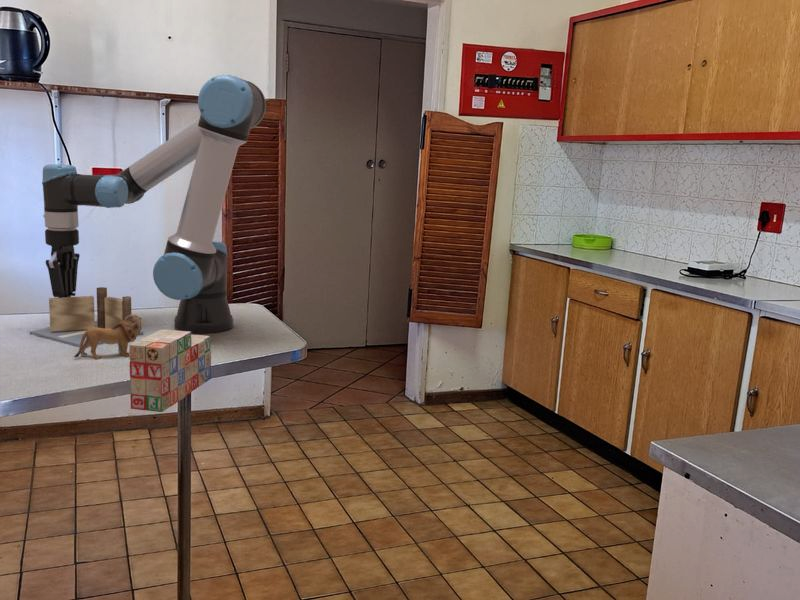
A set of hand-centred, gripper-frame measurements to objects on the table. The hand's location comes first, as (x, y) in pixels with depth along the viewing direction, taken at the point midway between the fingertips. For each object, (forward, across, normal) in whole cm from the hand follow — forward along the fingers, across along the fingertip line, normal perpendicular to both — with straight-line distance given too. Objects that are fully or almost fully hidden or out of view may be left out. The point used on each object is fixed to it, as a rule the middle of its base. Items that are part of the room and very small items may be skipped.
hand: (65, 321), depth 186 cm
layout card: (+2, +3, +7) cm, 8 cm away
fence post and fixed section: (+2, +1, +13) cm, 13 cm away
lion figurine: (+2, +20, +20) cm, 28 cm away
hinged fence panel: (+1, +3, +3) cm, 4 cm away
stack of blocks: (+2, +43, +42) cm, 60 cm away
